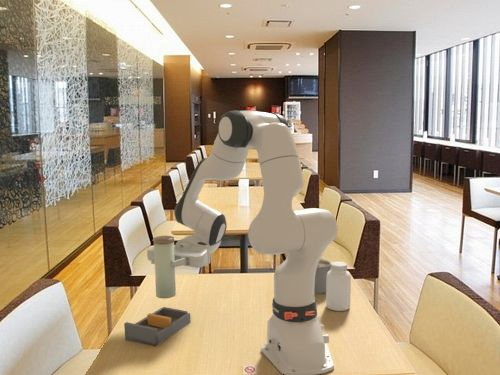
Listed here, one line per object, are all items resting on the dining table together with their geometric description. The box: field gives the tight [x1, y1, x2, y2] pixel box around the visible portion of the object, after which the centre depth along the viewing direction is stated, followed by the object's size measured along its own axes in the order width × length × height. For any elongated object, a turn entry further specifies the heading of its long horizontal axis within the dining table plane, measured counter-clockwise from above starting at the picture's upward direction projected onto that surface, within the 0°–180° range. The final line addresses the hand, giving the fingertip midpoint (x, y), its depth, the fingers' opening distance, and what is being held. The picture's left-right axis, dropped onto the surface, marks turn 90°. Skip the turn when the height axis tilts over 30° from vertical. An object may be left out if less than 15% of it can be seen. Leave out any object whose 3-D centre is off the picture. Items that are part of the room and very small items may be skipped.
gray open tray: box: [123, 306, 191, 347], centre depth 156 cm, size 18×11×5 cm, turn 154°
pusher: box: [146, 313, 171, 328], centre depth 157 cm, size 1×8×3 cm, turn 64°
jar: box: [152, 235, 177, 300], centre depth 158 cm, size 6×6×18 cm
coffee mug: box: [314, 258, 332, 295], centre depth 188 cm, size 13×10×10 cm
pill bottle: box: [325, 261, 352, 312], centre depth 171 cm, size 8×8×15 cm
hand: (162, 263), depth 157 cm, fingers closed on jar, 6 cm apart
